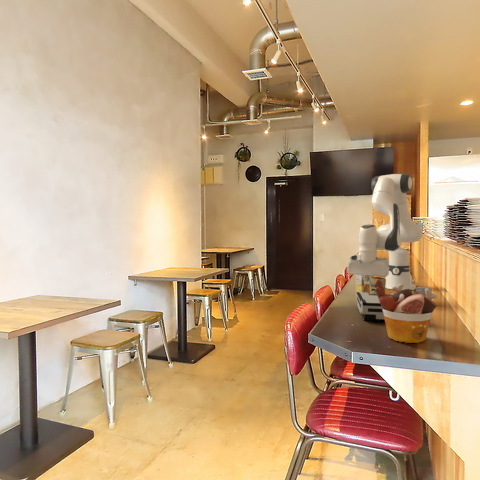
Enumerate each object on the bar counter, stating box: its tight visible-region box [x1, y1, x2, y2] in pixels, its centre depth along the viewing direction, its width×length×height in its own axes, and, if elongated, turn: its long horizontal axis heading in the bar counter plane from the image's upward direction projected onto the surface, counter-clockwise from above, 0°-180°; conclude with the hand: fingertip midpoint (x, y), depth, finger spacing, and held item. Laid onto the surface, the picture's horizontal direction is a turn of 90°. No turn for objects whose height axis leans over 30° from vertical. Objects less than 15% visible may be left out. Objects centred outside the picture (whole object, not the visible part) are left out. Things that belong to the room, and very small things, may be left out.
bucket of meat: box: [375, 279, 439, 344], centre depth 133 cm, size 20×16×20 cm
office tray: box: [355, 291, 395, 322], centre depth 170 cm, size 21×32×8 cm, turn 168°
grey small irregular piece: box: [415, 286, 433, 301], centre depth 191 cm, size 7×7×8 cm
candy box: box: [355, 274, 371, 294], centre depth 213 cm, size 9×4×15 cm, turn 129°
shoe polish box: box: [370, 276, 386, 294], centre depth 196 cm, size 5×5×12 cm
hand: (367, 284), depth 199 cm, fingers closed
